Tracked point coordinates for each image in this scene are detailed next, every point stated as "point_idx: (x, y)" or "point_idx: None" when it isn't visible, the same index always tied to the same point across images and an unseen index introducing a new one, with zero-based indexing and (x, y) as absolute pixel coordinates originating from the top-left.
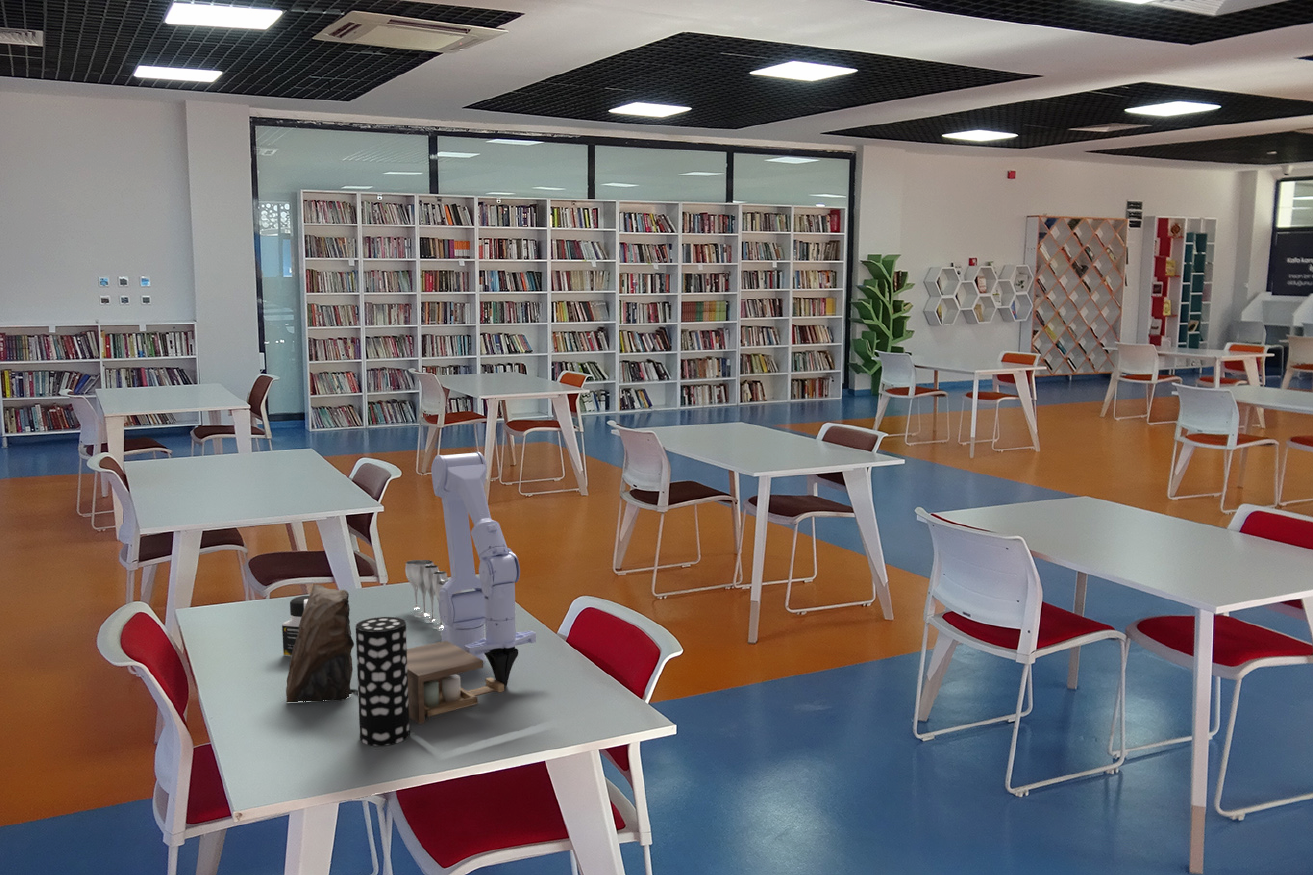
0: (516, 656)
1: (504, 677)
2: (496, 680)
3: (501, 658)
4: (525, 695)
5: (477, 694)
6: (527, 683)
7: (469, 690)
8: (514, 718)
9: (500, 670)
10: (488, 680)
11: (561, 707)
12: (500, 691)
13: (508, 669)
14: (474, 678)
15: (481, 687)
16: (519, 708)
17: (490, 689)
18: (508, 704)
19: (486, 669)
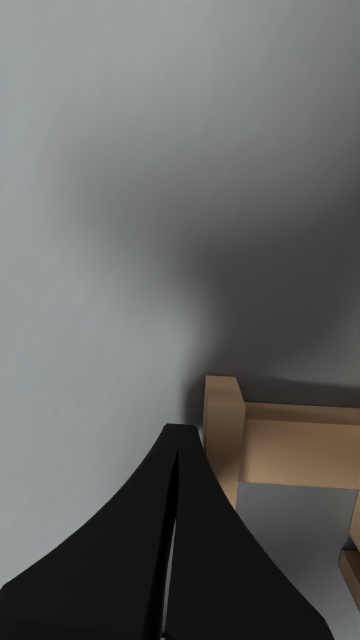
0: (34, 572)
1: (184, 451)
2: None
3: (262, 619)
4: (123, 320)
5: (347, 424)
6: (47, 429)
7: (338, 487)
8: (354, 65)
9: (222, 496)
10: (235, 503)
11: (51, 33)
12: (229, 388)
13: (148, 485)
14: None
15: (274, 481)
16: (241, 188)
17: (257, 435)
18: (251, 275)
19: None
